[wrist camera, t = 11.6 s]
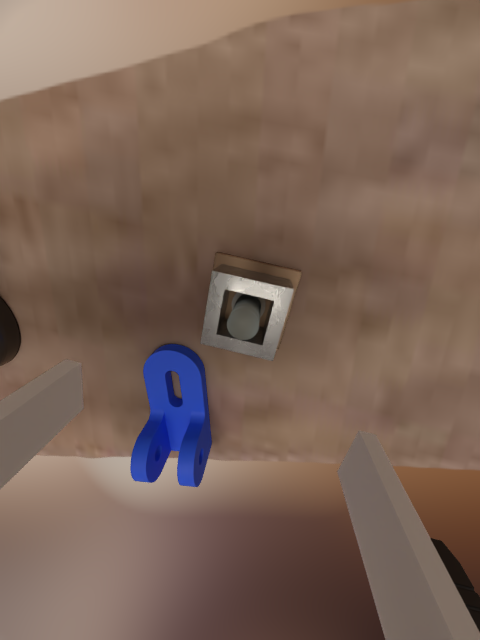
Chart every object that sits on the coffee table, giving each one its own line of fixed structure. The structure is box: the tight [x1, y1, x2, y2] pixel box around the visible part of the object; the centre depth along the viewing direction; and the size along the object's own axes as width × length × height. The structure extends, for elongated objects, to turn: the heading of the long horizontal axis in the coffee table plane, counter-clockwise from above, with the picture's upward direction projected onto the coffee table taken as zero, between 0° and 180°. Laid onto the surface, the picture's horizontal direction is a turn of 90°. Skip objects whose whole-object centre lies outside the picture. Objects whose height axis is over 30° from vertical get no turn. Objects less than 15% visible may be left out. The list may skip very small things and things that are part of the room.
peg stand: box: [213, 252, 302, 349], centre depth 26 cm, size 10×10×8 cm
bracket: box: [131, 344, 212, 487], centre depth 33 cm, size 18×8×9 cm, turn 2°
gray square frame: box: [200, 264, 294, 361], centre depth 26 cm, size 8×8×5 cm
